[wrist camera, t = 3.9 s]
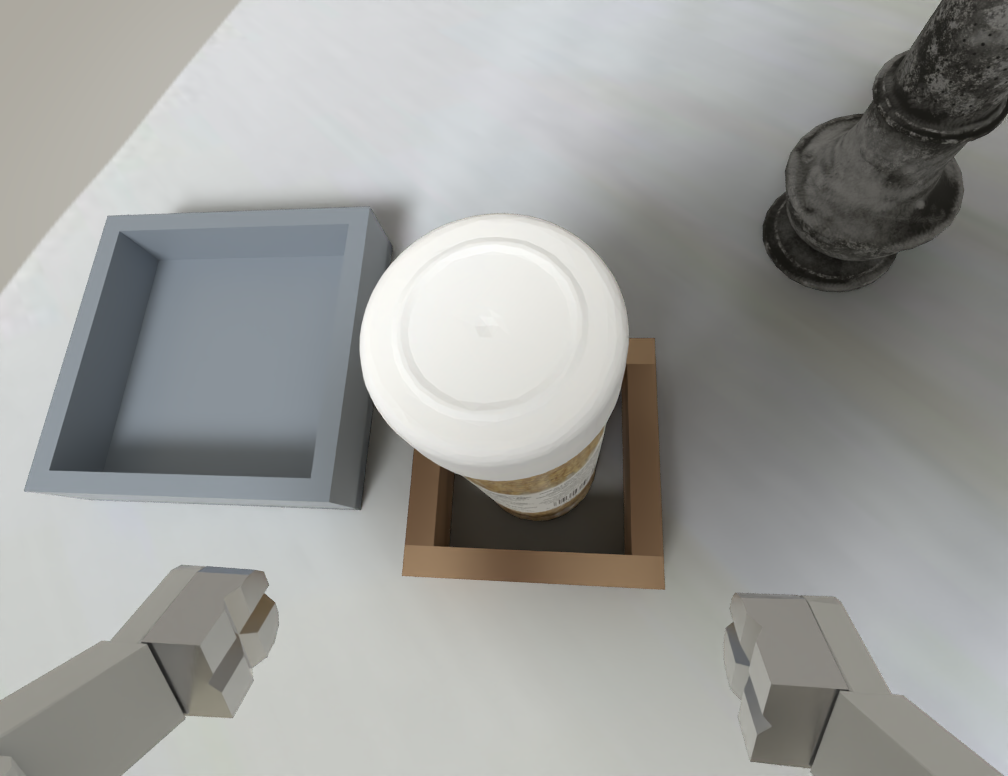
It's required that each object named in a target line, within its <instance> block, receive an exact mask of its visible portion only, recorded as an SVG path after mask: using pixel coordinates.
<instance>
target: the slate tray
mask: <svg viewBox="0 0 1008 776" xmlns="http://www.w3.org/2000/svg"><path fill="white" fill-rule="evenodd" d="M391 255H392V245H391V243H390V241H389V239H388V237H387V236H386V234H385V232H384V230H383V229H382V227H381V225H380V223H379V222H378V220H377V218H376V216H375V215H374V213H373V211H372V209H371V208H370V206H369V207H341V208H313V209H285V210H256V211H228V212H200V213H172V214H144V215H116V216H107V220H106V223H105V226H104V229H103V233H102V236H101V239H100V243H99V246H98V249H97V252H96V256H95V259H94V262H93V266H92V269H91V272H90V275H89V279H88V282H87V285H86V289H85V292H84V295H83V298H82V302H81V305H80V308H79V311H78V315H77V318H76V321H75V325H74V328H73V331H72V334H71V338H70V341H69V344H68V348H67V351H66V354H65V357H64V361H63V364H62V367H61V371H60V374H59V377H58V380H57V384H56V387H55V390H54V393H53V397H52V400H51V403H50V407H49V410H48V413H47V416H46V420H45V423H44V426H43V430H42V433H41V436H40V439H39V443H38V446H37V449H36V453H35V456H34V459H33V462H32V466H31V469H30V472H29V475H28V479H27V482H26V485H25V489H24V491H25V492H33V493H41V494H49V495H56V496H64V497H72V498H80V499H88V500H107V501H134V502H161V503H188V504H215V505H242V506H269V507H295V508H322V509H349V510H361V503H362V494H363V486H364V478H365V470H366V461H367V453H368V445H369V437H370V428H371V420H372V412H373V403H374V402H373V400H372V398H371V397H370V394H369V392H368V390H367V388H366V385H365V381H364V378H363V372H362V367H361V360H360V332H361V325H362V321H363V317H364V313H365V310H366V307H367V304H368V301H369V299H370V296H371V294H372V292H373V290H374V288H375V287H376V285H377V283H378V281H379V280H380V278H381V277H382V275H383V274H384V272H385V271H386V270H387V268H388V267H389V266H390V263H391Z"/></svg>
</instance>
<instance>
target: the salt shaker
mask: <svg viewBox="0 0 1008 776" xmlns="http://www.w3.org/2000/svg"><path fill="white" fill-rule="evenodd" d="M872 90H873V101H872V103H871V104H870V106H869V107H868V109H867V110H866V112H865V113H864V114H855V115H849V116H844V117H839V118H835V119H832V120H830V121H828V122H825V123H823V124H821V125H819V126H816V127H815V128H814V129H813V130H811V131H810V132H809V133H807V134H806V135H805V136H804V137H802V138H801V140H800V141H799V142H798V144H797V145H796V147H795V148H794V149H793V151H792V152H791V154H790V157H789V160H788V163H787V166H786V170H785V181H786V192H785V193H784V194H782V195H781V196H780V197H779V198H777V199H776V200H775V202H774V203H773V205H772V206H771V207H770V209H769V210H768V212H767V214H766V217H765V221H764V224H763V241H764V244H765V247H766V250H767V253H768V255H769V256H770V258H771V259H772V261H773V262H774V264H775V265H776V267H777V268H779V269H780V270H781V271H782V272H783V273H784V274H786V275H787V276H788V277H789V278H791V279H793V280H795V281H796V282H798V283H800V284H802V285H804V286H807V287H810V288H814V289H818V290H821V291H835V292H843V291H848V290H854V289H859V288H861V287H864V286H866V285H868V284H870V283H873V282H874V281H876V280H877V279H878V278H879V277H880V276H882V275H883V274H884V273H885V272H886V271H887V270H888V269H889V267H890V266H891V264H892V263H893V261H894V260H895V258H896V254H897V252H900V251H902V250H908V249H913V248H915V247H917V246H919V245H922V244H924V243H926V242H929V241H931V240H933V239H934V238H935V237H936V236H938V235H939V234H940V233H941V232H942V231H944V230H945V229H946V228H947V227H948V226H950V224H951V223H952V221H953V220H954V218H955V216H956V215H957V213H958V212H959V210H960V207H961V203H962V198H963V193H964V188H963V181H962V173H961V171H960V168H959V166H958V164H957V162H956V160H955V158H954V156H955V155H956V154H957V153H958V152H959V151H960V150H961V149H962V148H963V146H964V145H965V144H966V143H967V142H969V141H973V140H975V139H978V138H980V137H982V136H985V135H987V134H989V133H990V132H991V131H992V130H994V129H995V128H996V127H997V126H999V125H1000V124H1001V123H1002V121H1003V120H1004V118H1005V117H1006V115H1007V114H1008V0H942V1H941V3H940V4H939V6H938V7H937V9H936V10H935V12H934V13H933V15H932V16H931V18H930V19H929V21H928V22H927V24H926V25H925V27H924V28H923V30H922V31H921V33H920V34H919V36H918V37H917V39H916V40H915V42H914V43H913V45H912V46H911V48H910V50H908V51H905V52H903V53H901V54H898V55H896V56H895V57H893V58H892V59H891V60H889V61H888V62H887V63H886V64H885V65H884V66H883V67H882V69H881V70H880V71H879V73H878V74H877V76H876V78H875V81H874V85H873V88H872Z"/></svg>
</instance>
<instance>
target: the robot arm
mask: <svg viewBox="0 0 1008 776" xmlns="http://www.w3.org/2000/svg"><path fill="white" fill-rule="evenodd" d="M268 586H269V583H268V581H267V578H266V576H265V573H264V572H263V571H258V570H249V569H236V568H223V567H210V566H206V567H205V566H191V565H180V566H178V567H177V568H175V569H173V570H171V571H170V572H169V574H168V575H167V576H166V577H165V578H164V579H163V581H162V582H161V583H160V584H159V585H158V586H157V587H156V589H155V590H154V591H153V592H152V593H151V594H150V596H149V597H148V598H147V599H146V600H145V601H144V602H143V604H142V605H141V606H140V607H139V608H138V609H137V611H136V612H135V613H134V614H133V615H132V616H131V618H130V619H129V620H128V621H127V622H126V623H125V624H124V626H123V627H122V628H121V629H120V630H119V631H118V633H117V634H116V635H115V636H114V637H113V638H112V639H111V641H101V642H99V643H97V644H96V645H94V646H92V647H90V648H89V649H87V650H85V651H84V652H82V653H80V654H79V655H77V656H75V657H73V658H72V659H70V660H68V661H67V662H65V663H63V664H62V665H60V666H58V667H56V668H55V669H53V670H51V671H50V672H48V673H46V674H45V675H43V676H41V677H39V678H38V679H36V680H34V681H33V682H31V683H29V684H28V685H26V686H24V687H22V688H21V689H19V690H17V691H16V692H14V693H12V694H11V695H9V696H7V697H5V698H4V699H2V700H0V776H121V775H122V774H124V773H125V772H126V771H127V770H128V769H129V768H130V767H132V766H133V765H134V764H135V763H136V762H137V761H138V760H139V759H141V758H142V757H143V756H144V755H145V754H146V753H147V752H149V751H150V750H151V749H152V748H153V747H154V746H155V745H156V744H158V743H159V742H160V741H161V740H162V739H163V738H164V737H166V736H167V735H168V734H169V733H170V732H171V731H172V730H173V729H175V728H176V727H177V726H178V725H179V724H180V723H181V722H183V721H184V720H185V718H186V717H185V716H202V717H221V718H233V717H234V715H235V714H236V712H237V710H238V708H239V706H240V705H241V703H242V701H243V699H244V697H245V696H246V694H247V692H248V690H249V688H250V687H251V685H252V683H253V681H254V679H253V672H252V668H253V667H254V666H256V665H257V664H258V663H260V662H261V661H262V660H264V659H265V658H266V657H267V656H268V654H269V652H270V650H271V648H272V646H273V644H274V642H275V639H276V635H277V631H278V627H279V614H278V610H277V606H276V603H275V602H274V601H273V600H272V599H270V598H269V597H268V596H267V595H266V594H265V591H266V589H267V588H268ZM730 612H731V616H732V619H733V623H731V624H730V625H729V626H728V627H726V629H725V636H724V642H723V645H724V663H725V669H726V675H727V679H728V683H729V686H730V690H731V691H732V692H733V693H734V694H735V695H736V696H737V697H738V698H739V699H740V700H741V705H740V709H739V714H738V720H739V723H740V727H741V731H742V734H743V738H744V741H745V745H746V748H747V752H748V756H749V759H750V762H758V763H767V764H775V765H784V766H793V767H802V768H811V771H810V772H811V773H812V774H813V776H1004V775H1002V774H1001V773H1000V772H999V771H997V770H996V769H995V768H994V767H992V766H991V765H990V764H989V763H987V762H986V761H985V760H984V759H982V758H981V757H980V756H979V755H977V754H976V753H975V752H974V751H972V750H971V749H970V748H969V747H967V746H966V745H965V744H964V743H962V742H961V741H960V740H959V739H957V738H956V737H955V736H954V735H952V734H951V733H950V732H949V731H947V730H946V729H945V728H944V727H942V726H941V725H940V724H939V723H937V722H936V721H935V720H934V719H932V718H931V717H930V716H929V715H927V714H926V713H925V712H924V711H922V710H921V709H920V708H919V707H917V706H916V705H915V704H914V703H912V702H911V701H910V700H908V699H907V698H906V697H905V696H903V695H895V694H892V693H891V691H890V690H889V688H888V686H887V684H886V682H885V681H884V679H883V677H882V675H881V673H880V671H879V670H878V668H877V666H876V664H875V662H874V661H873V659H872V657H871V655H870V653H869V652H868V650H867V648H866V646H865V644H864V642H863V641H862V639H861V637H860V635H859V633H858V632H857V630H856V628H855V626H854V624H853V623H852V621H851V619H850V617H849V615H848V613H847V612H846V610H845V608H844V606H843V604H842V603H841V602H840V601H839V600H838V599H837V598H836V597H828V596H805V595H801V596H798V595H786V594H759V593H735V594H734V595H733V597H732V599H731V604H730Z"/></svg>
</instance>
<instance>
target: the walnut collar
mask: <svg viewBox="0 0 1008 776" xmlns="http://www.w3.org/2000/svg"><path fill="white" fill-rule="evenodd" d="M621 395H622V444H623V493H624V543H625V555H616V554H594V553H572V552H550V551H528V550H505V549H483V548H461V547H449V542H450V528H451V514H452V500H453V486H454V472H452V471H450V470H448V469H445V468H443V467H441V466H439V465H438V464H436V463H434V462H433V461H431V460H430V459H428V458H427V457H425V456H424V455H422V454H421V453H420V452H419V451H417V450H416V449H415V448H414V455H413V465H412V476H411V486H410V497H409V507H408V517H407V528H406V538H405V549H404V559H403V570H402V576H414V577H433V578H452V579H471V580H490V581H509V582H529V583H548V584H567V585H586V586H605V587H624V588H643V589H662V590H665V578H664V554H663V529H662V504H661V480H660V455H659V431H658V406H657V381H656V357H655V338H629V345H628V353H627V360H626V367H625V372H624V376H623V381H622V385H621Z"/></svg>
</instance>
